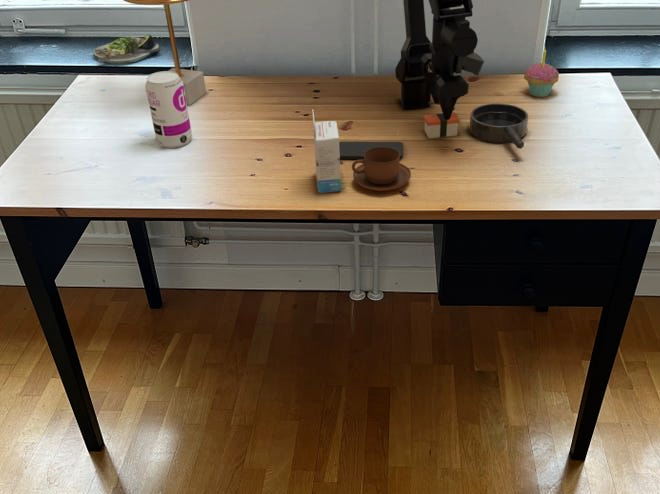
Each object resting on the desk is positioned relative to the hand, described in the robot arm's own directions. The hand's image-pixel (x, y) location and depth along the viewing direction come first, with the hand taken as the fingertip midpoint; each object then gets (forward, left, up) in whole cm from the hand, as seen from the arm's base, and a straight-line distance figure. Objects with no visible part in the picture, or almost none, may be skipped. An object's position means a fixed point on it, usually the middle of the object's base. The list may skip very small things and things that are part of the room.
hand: (441, 111), depth 176 cm
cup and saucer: (-18, -20, -5) cm, 28 cm away
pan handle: (+13, -13, -3) cm, 18 cm away
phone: (-18, -6, -5) cm, 20 cm away
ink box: (-29, -18, -5) cm, 35 cm away
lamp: (-59, +36, -5) cm, 69 cm away
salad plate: (-74, +72, -5) cm, 103 cm away
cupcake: (+30, +17, -5) cm, 35 cm away
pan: (+13, -2, -5) cm, 14 cm away
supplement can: (-61, +10, -5) cm, 62 cm away
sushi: (0, 0, -5) cm, 5 cm away
